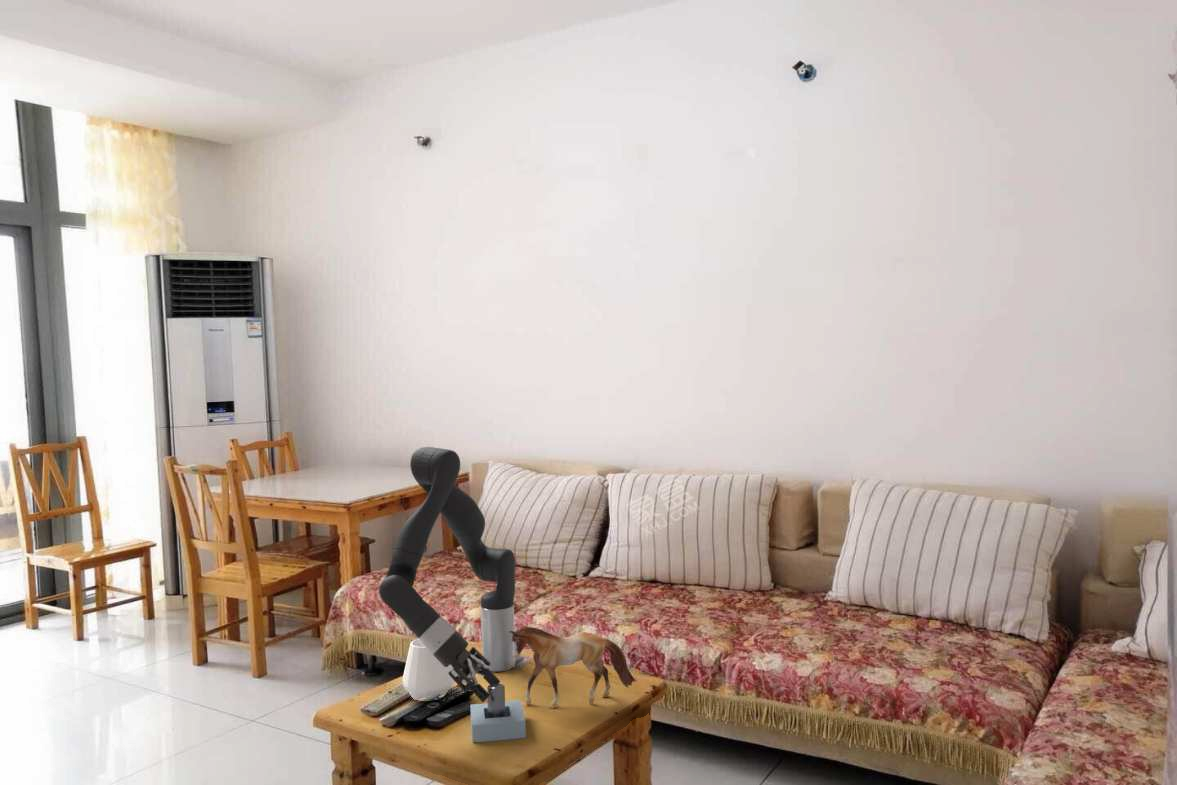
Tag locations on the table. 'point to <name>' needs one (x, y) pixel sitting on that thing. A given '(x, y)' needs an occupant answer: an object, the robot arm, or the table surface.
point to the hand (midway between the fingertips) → (492, 691)
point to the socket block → (498, 723)
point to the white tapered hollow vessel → (425, 673)
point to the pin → (496, 700)
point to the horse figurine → (570, 656)
